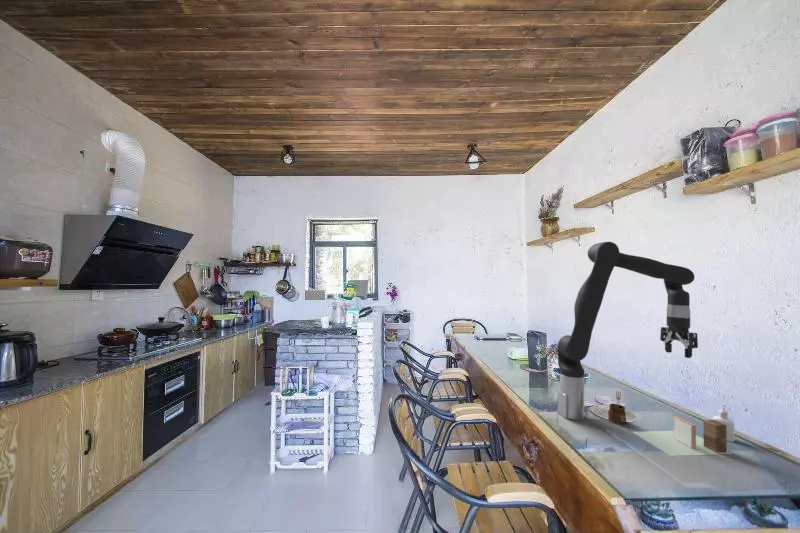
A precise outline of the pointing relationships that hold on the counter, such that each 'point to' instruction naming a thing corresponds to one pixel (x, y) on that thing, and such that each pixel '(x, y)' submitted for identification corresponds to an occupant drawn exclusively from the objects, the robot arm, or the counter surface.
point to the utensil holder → (617, 412)
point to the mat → (675, 444)
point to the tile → (685, 432)
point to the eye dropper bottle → (726, 423)
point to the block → (715, 436)
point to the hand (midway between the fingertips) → (678, 354)
